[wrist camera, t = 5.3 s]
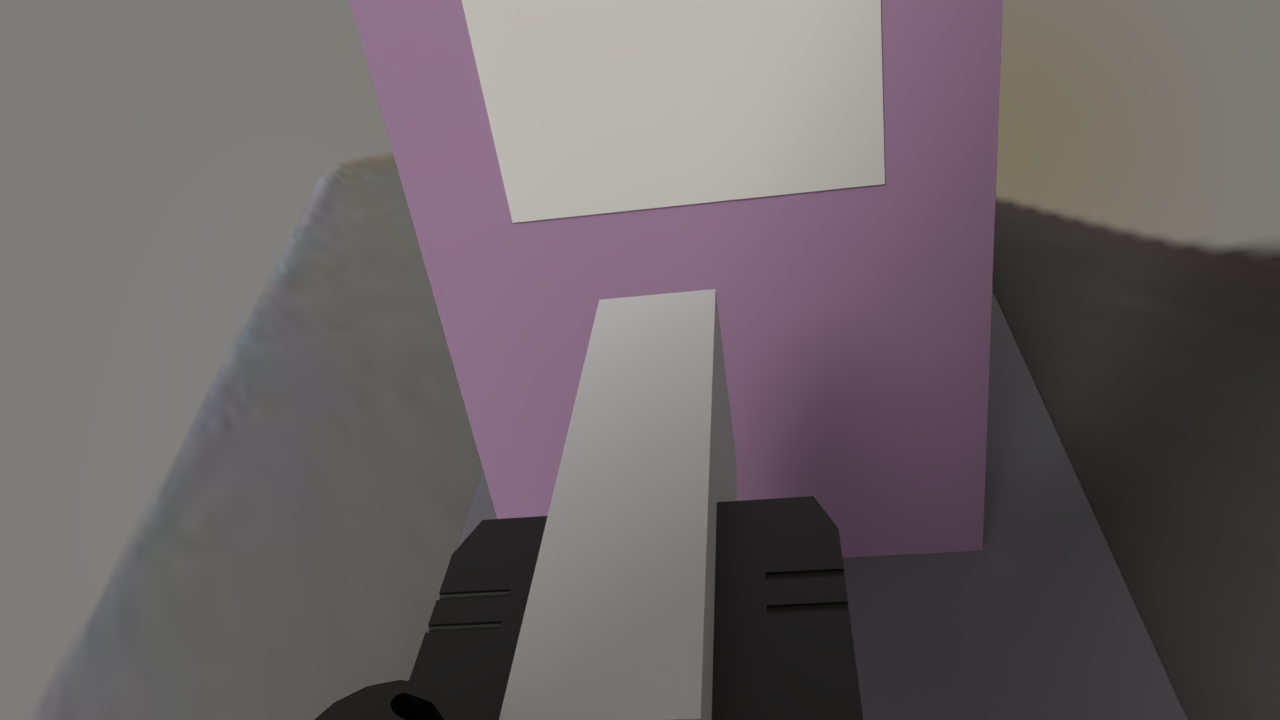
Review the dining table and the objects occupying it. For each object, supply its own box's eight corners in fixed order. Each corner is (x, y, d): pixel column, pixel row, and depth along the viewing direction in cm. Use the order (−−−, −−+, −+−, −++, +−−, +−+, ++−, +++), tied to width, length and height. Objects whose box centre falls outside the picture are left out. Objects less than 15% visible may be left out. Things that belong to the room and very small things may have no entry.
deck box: (983, 551, 21) (1018, -409, 13) (512, 576, 22) (270, -270, 14) (951, 447, 24) (964, -383, 16) (540, 474, 25) (354, -271, 17)
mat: (579, 211, 41) (576, 197, 41) (932, 173, 39) (932, 159, 39) (326, 979, 16) (314, 959, 16) (1290, 988, 14) (1297, 964, 14)
